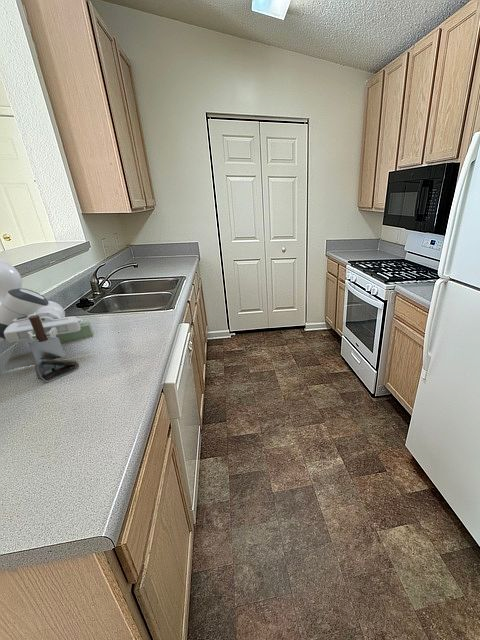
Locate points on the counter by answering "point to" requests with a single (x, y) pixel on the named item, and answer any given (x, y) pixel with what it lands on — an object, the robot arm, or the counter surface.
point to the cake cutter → (44, 342)
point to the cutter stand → (77, 333)
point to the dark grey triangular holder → (54, 368)
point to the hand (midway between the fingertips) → (41, 337)
